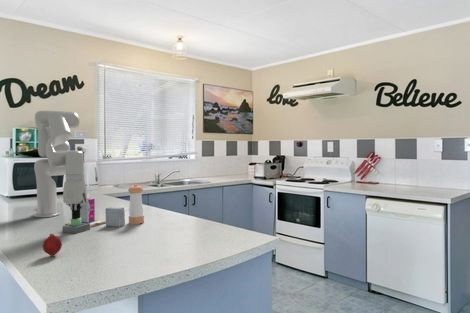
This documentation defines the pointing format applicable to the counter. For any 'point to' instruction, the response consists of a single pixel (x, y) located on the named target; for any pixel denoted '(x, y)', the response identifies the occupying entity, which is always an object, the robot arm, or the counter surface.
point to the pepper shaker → (136, 205)
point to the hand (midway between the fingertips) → (76, 218)
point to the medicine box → (115, 216)
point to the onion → (52, 245)
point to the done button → (76, 222)
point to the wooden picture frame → (93, 223)
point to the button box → (75, 228)
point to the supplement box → (88, 211)
